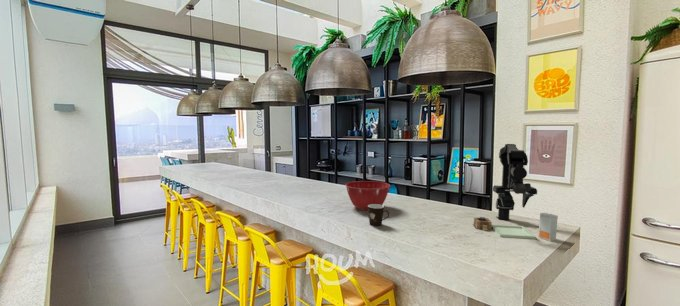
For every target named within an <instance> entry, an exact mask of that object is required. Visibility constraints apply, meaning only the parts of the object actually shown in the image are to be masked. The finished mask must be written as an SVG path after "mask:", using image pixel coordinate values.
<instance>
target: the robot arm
mask: <svg viewBox="0 0 680 306" xmlns="http://www.w3.org/2000/svg"><path fill="white" fill-rule="evenodd" d="M498 158H499V162H500V163H501V165H502V174H501V185H493V186H492V192H494V193H495V194H497V198H496V201H495V208H496V210H498V212H497V213H498V214H497V215H498V216H495V218H496V219H498V220H499V221H512V219H511V218H510V211H514V210H515V209H514V208H515V200H514V196H512V194H511V192H512V193H514V194H516V195H519V194H522V200H521V201H522V203H521V207H522V208H525V207H526V205H527V203H528V201H529V200H530V198H532V197H534V196H535V195H538V189H537V188H536V187H533V186H531V183H524V179H525V178H526V177H527V175H528V171H527V169H526V168H525V167H524V166H527V165H528V163H529V160H528V155H527V154H526V152H525V150H522V149H519V148H518V147H517V145H516V144H514V143H505V144H504V146H503V147H501V148H500V150H499V152H498Z"/></svg>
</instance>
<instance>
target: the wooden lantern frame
mask: <svg viewBox="0 0 680 306" xmlns="http://www.w3.org/2000/svg"><path fill="white" fill-rule="evenodd" d="M485 218H486V221H479V220H480V217H473V224H474V226H475V227H476V228H477V229H476V228H475V227H474V226H473V227H474V228H475V229H476V230H481V229H482V230H481V231H492V230H491V229H492V228H491V226H492V225H493V221H491V219H489V218H488V217H485ZM487 229H488V230H487Z"/></svg>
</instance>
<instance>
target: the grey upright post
mask: <svg viewBox="0 0 680 306" xmlns="http://www.w3.org/2000/svg"><path fill="white" fill-rule="evenodd" d="M479 218H480V220H479V221H486V218H487V217H484V216H479ZM472 226H473V227H474V229H475V230H478V229H477V228H476V227H475V226H474V223H473V224H472ZM480 230H481V231H483V230H482V229H480ZM487 231H489V230H488V229H487ZM490 231H493V229H492V228H491V230H490Z"/></svg>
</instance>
